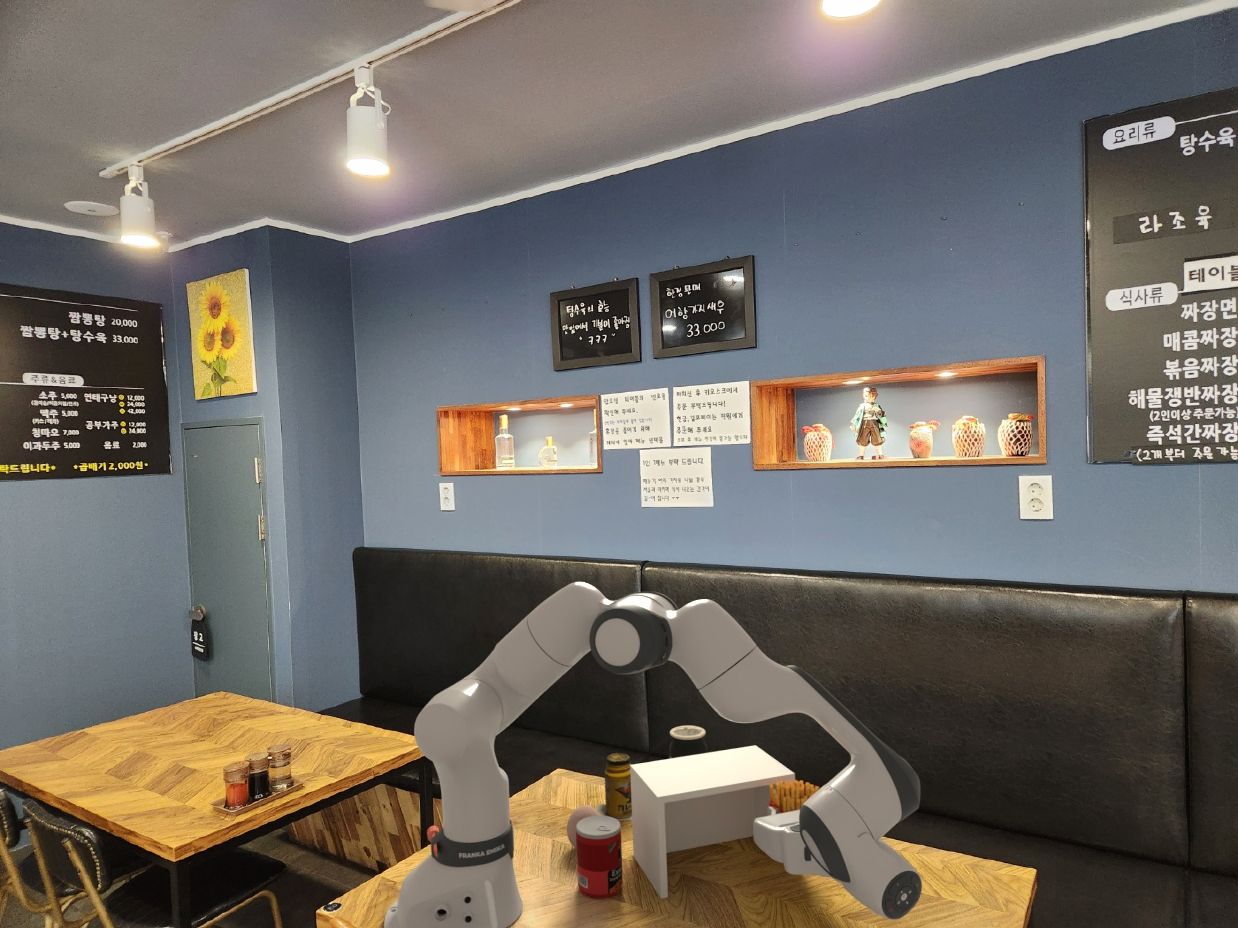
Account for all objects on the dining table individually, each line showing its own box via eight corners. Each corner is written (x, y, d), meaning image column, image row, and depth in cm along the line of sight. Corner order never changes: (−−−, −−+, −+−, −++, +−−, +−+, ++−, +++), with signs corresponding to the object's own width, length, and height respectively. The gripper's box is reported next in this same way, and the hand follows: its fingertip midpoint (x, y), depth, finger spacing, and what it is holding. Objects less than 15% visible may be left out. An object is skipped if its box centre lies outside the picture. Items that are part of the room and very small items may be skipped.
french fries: (771, 857, 128) (767, 786, 128) (773, 846, 131) (770, 777, 132) (822, 862, 125) (819, 790, 125) (823, 851, 129) (820, 780, 129)
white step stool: (661, 898, 128) (657, 796, 128) (633, 855, 143) (630, 764, 143) (798, 868, 136) (794, 773, 136) (758, 831, 150) (755, 745, 150)
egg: (612, 849, 145) (610, 805, 146) (583, 862, 141) (581, 818, 141) (588, 836, 151) (587, 794, 151) (560, 849, 146) (558, 806, 146)
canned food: (618, 901, 128) (615, 836, 128) (572, 898, 129) (570, 833, 129) (626, 877, 135) (624, 816, 135) (583, 874, 137) (581, 813, 137)
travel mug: (711, 826, 153) (707, 737, 154) (671, 826, 154) (668, 738, 154) (708, 808, 161) (705, 724, 162) (671, 808, 162) (668, 725, 162)
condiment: (635, 820, 157) (633, 762, 157) (595, 820, 158) (592, 763, 158) (636, 804, 165) (634, 749, 165) (597, 805, 165) (595, 750, 165)
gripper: (893, 811, 119) (843, 778, 132) (777, 834, 113) (737, 797, 126) (895, 851, 119) (844, 814, 132) (779, 876, 113) (739, 835, 126)
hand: (791, 806), depth 129 cm, fingers closed on french fries, 6 cm apart
